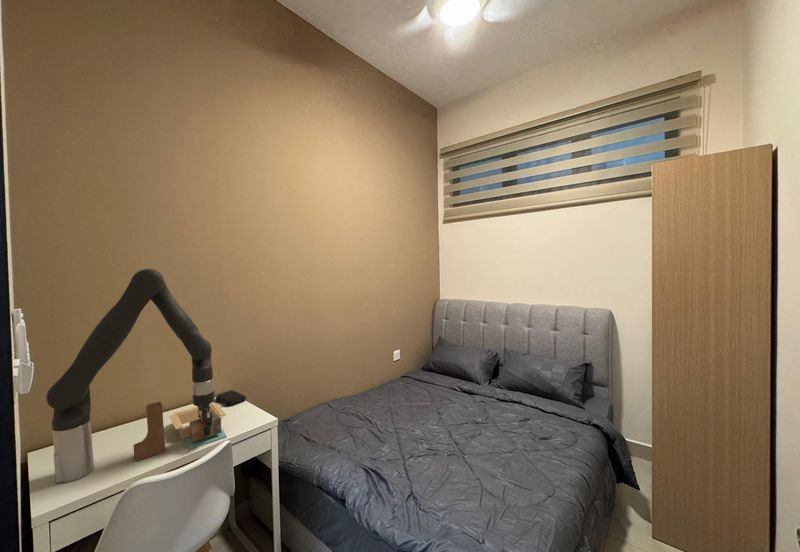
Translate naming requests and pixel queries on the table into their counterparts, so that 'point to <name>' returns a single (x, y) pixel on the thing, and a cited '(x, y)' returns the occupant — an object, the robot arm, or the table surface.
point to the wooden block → (152, 433)
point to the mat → (205, 440)
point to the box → (198, 428)
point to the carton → (191, 418)
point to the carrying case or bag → (230, 398)
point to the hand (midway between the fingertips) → (205, 432)
